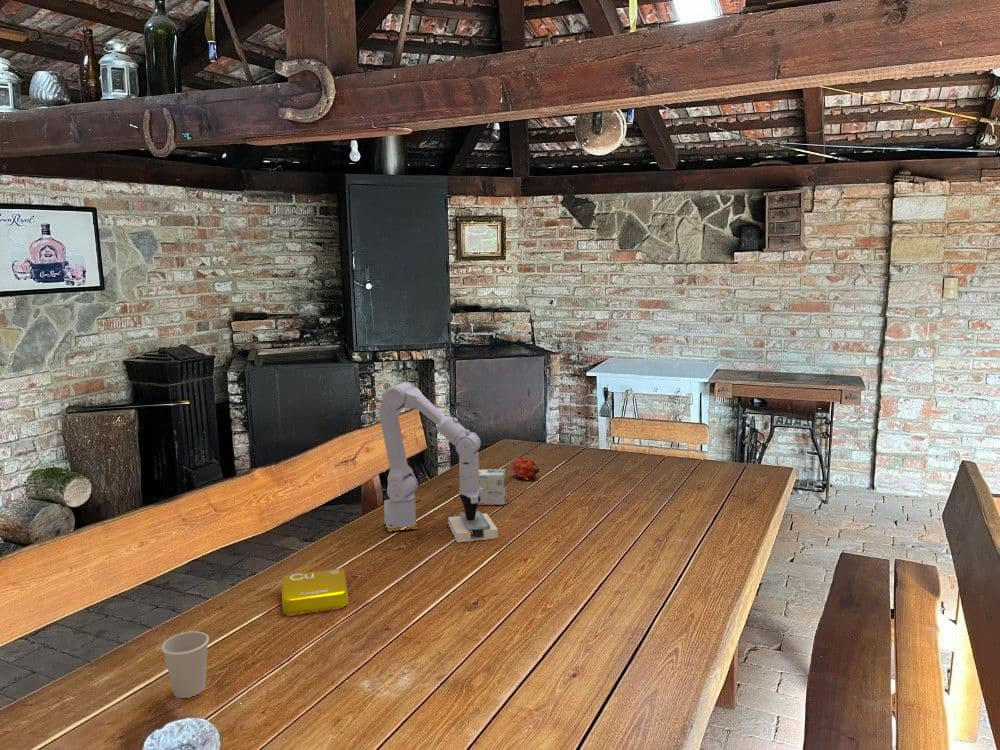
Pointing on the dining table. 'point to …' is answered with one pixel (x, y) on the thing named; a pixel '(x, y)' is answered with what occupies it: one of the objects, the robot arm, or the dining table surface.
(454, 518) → the base
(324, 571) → the element tile
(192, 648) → the dixie cup
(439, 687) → the dining table surface
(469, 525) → the duct cover
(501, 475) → the light bulb box
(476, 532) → the dark grey rod
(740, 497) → the dining table surface
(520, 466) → the dragon fruit
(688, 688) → the dining table surface
